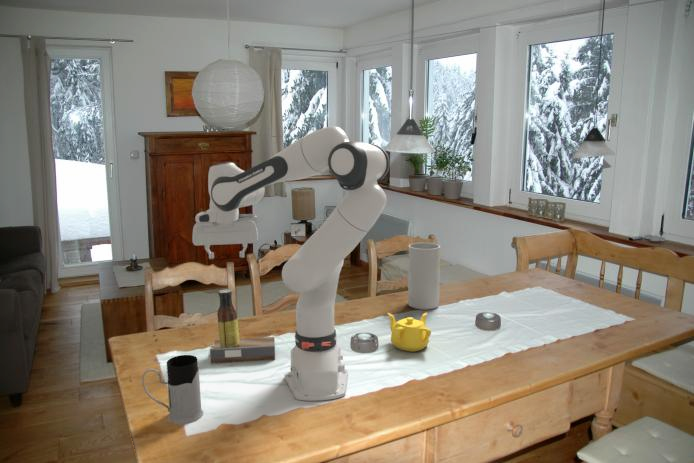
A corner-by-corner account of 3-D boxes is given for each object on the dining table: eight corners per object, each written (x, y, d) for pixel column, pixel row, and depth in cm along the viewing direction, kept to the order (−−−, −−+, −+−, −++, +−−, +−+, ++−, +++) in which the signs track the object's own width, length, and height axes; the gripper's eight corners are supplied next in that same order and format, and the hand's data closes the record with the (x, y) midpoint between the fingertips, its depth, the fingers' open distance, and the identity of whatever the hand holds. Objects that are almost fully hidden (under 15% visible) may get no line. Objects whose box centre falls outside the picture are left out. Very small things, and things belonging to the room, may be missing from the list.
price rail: (275, 355, 179) (274, 346, 178) (210, 359, 176) (209, 350, 176) (274, 353, 180) (274, 344, 180) (210, 357, 178) (210, 348, 177)
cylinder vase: (440, 310, 225) (442, 249, 220) (409, 310, 225) (410, 249, 221) (436, 300, 237) (437, 242, 233) (406, 300, 238) (407, 242, 233)
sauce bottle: (242, 346, 186) (240, 288, 183) (235, 353, 180) (232, 294, 177) (224, 345, 188) (221, 287, 184) (216, 352, 182) (212, 293, 178)
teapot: (426, 338, 196) (427, 311, 194) (432, 353, 183) (433, 324, 181) (387, 338, 196) (387, 311, 194) (390, 354, 183) (390, 325, 181)
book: (275, 359, 179) (274, 355, 179) (210, 363, 177) (210, 359, 176) (274, 340, 195) (274, 336, 195) (215, 344, 192) (215, 340, 192)
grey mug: (204, 421, 143) (200, 365, 140) (144, 430, 139) (139, 373, 136) (202, 404, 151) (199, 352, 148) (146, 413, 147) (142, 358, 144)
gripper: (258, 212, 180) (260, 254, 183) (192, 214, 177) (195, 256, 180) (258, 215, 174) (260, 258, 177) (190, 217, 171) (192, 261, 174)
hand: (226, 257), depth 178 cm, fingers open, 8 cm apart
